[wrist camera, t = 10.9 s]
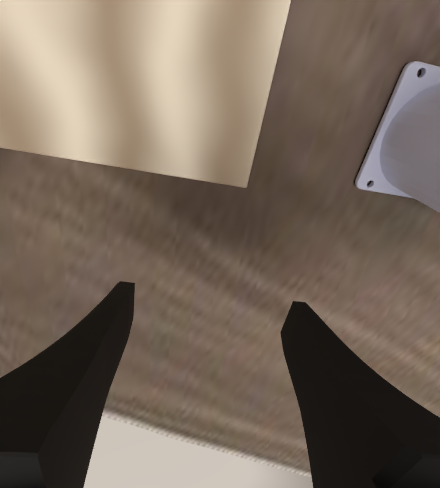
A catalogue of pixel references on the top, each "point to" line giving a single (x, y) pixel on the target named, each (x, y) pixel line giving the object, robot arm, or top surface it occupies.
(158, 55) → the post board
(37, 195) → the top surface
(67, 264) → the top surface
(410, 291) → the top surface
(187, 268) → the top surface
